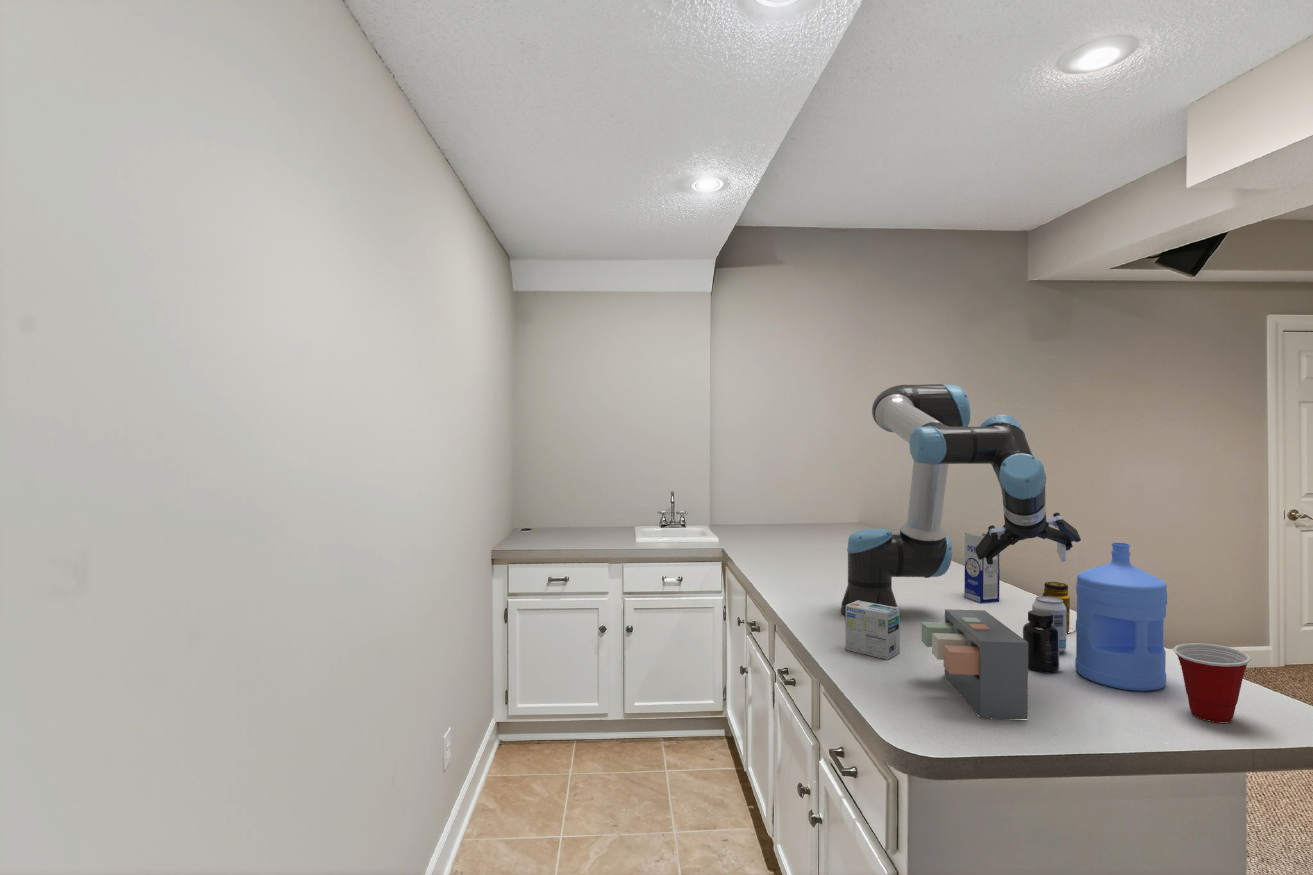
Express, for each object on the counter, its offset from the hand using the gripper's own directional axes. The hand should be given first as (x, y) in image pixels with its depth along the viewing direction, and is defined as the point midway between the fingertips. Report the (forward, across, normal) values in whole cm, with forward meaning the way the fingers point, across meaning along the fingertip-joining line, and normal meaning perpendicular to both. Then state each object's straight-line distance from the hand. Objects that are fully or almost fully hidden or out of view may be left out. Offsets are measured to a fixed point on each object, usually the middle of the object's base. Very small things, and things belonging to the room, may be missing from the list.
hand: (1027, 562), depth 151 cm
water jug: (+12, +10, -23) cm, 28 cm away
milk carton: (+54, -8, +19) cm, 58 cm away
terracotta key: (-19, -19, -29) cm, 40 cm away
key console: (-8, -17, -30) cm, 35 cm away
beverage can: (+22, 0, -12) cm, 25 cm away
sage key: (-9, -22, -19) cm, 30 cm away
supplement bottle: (+11, -4, -20) cm, 23 cm away
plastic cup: (+1, +19, -36) cm, 41 cm away
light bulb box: (+5, -37, -13) cm, 40 cm away
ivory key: (-14, -20, -24) cm, 35 cm away
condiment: (+36, +5, -2) cm, 36 cm away
